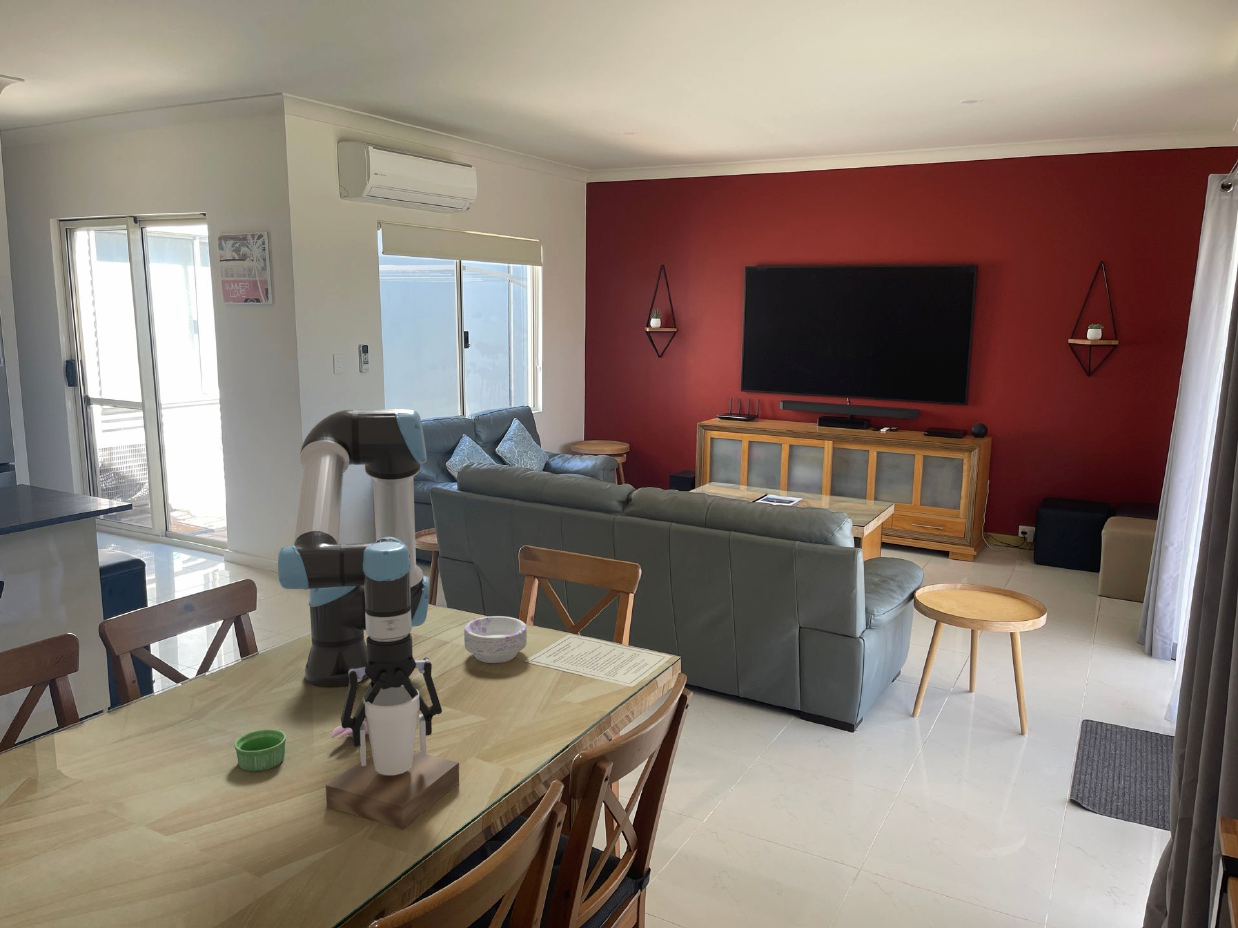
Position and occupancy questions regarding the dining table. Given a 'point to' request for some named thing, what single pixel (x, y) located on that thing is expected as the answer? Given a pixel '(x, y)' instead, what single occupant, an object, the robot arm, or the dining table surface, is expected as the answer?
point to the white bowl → (495, 638)
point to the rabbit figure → (346, 731)
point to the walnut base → (393, 790)
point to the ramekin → (260, 749)
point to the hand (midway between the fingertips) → (393, 757)
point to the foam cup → (392, 729)
